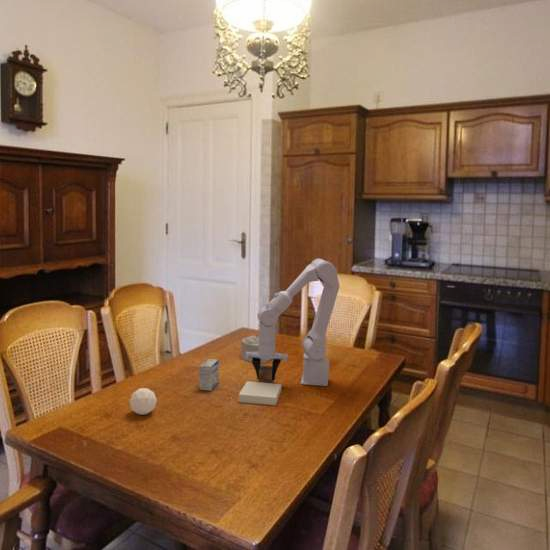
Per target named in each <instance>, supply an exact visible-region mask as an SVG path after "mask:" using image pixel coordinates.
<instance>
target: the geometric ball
mask: <svg viewBox="0 0 550 550" xmlns="http://www.w3.org/2000/svg"><path fill="white" fill-rule="evenodd" d="M157 401H158V399H157V397H156V393H155V392H154V391H152V390H150V389H149V388H148V387H147V388H145V387H141V388H138V389H136V391H134V392H133V393H131V396H130V399H129V405H130V409H131V410H132V411H133V412H134V413H136V414H138V415H142V416H143V415H148V414H149V413H150V412H152V411H153V410H154V409H155V408H156V404H157Z"/></svg>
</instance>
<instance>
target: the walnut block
mask: <svg viewBox="0 0 550 550" xmlns="http://www.w3.org/2000/svg"><path fill="white" fill-rule="evenodd" d="M272 374H273V367H272V365H261V364H260V368H259V379H258V382H262V383H274V382H275V380H274V381H273V380H272Z"/></svg>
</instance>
